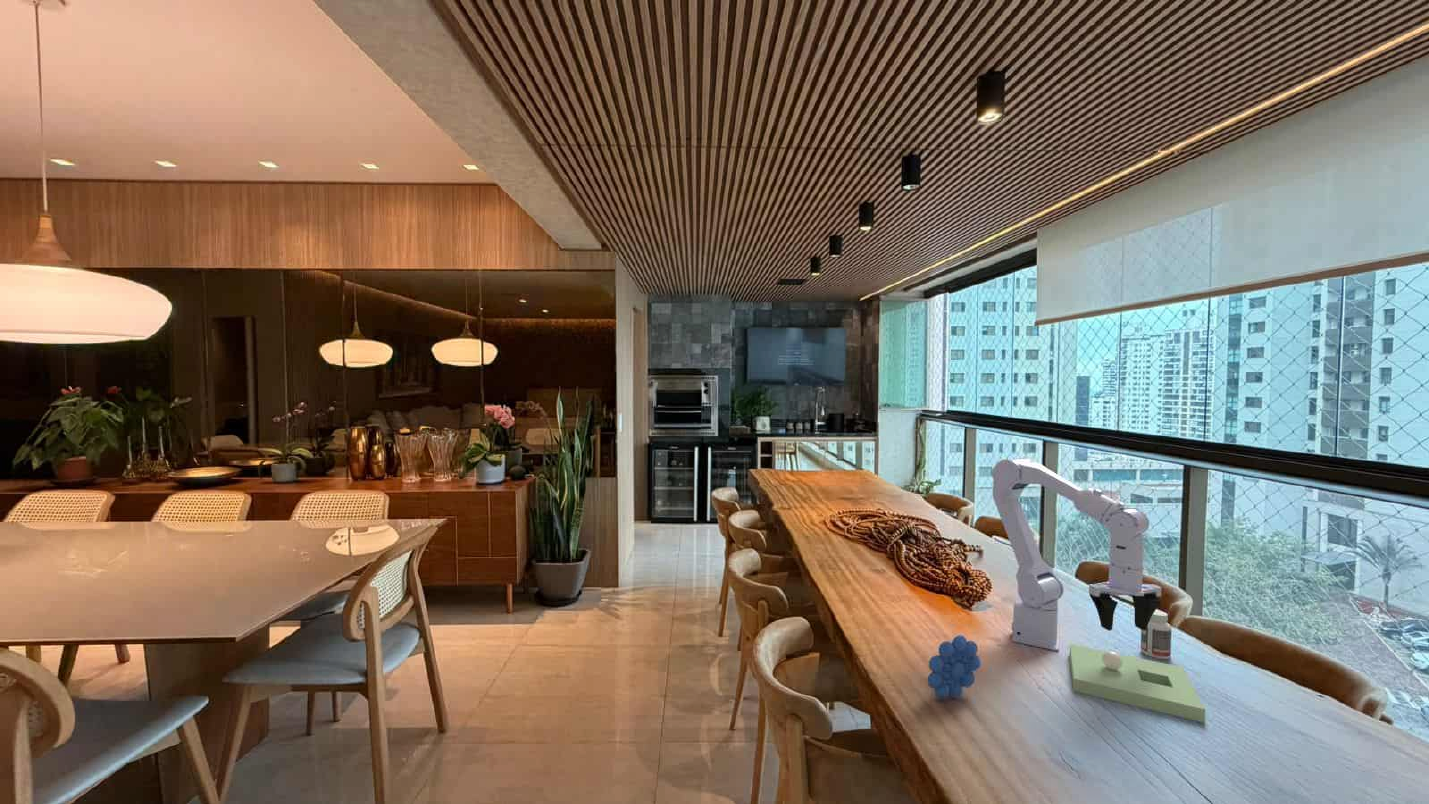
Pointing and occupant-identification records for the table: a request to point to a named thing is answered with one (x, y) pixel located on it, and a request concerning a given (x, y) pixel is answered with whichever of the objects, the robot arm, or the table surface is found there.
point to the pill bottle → (1157, 636)
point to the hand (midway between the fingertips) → (1123, 628)
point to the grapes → (953, 667)
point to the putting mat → (1136, 683)
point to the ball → (1112, 660)
